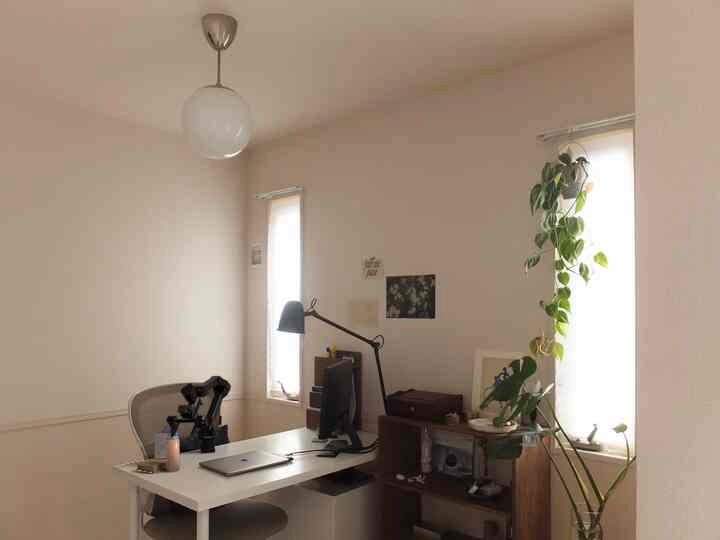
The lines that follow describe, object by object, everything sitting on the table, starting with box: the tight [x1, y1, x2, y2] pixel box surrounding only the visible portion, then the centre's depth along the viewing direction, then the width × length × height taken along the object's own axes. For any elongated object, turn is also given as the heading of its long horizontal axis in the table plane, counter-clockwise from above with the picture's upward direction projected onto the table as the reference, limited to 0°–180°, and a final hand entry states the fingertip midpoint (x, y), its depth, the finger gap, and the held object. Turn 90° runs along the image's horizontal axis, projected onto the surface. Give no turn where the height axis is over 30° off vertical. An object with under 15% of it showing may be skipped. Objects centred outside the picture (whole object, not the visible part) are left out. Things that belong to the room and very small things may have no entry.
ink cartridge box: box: [154, 425, 179, 459], centre depth 266 cm, size 10×6×14 cm, turn 79°
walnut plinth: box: [136, 458, 168, 474], centre depth 244 cm, size 10×10×3 cm
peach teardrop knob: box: [166, 438, 181, 473], centre depth 242 cm, size 5×5×13 cm
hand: (181, 437), depth 249 cm, fingers open, 9 cm apart
